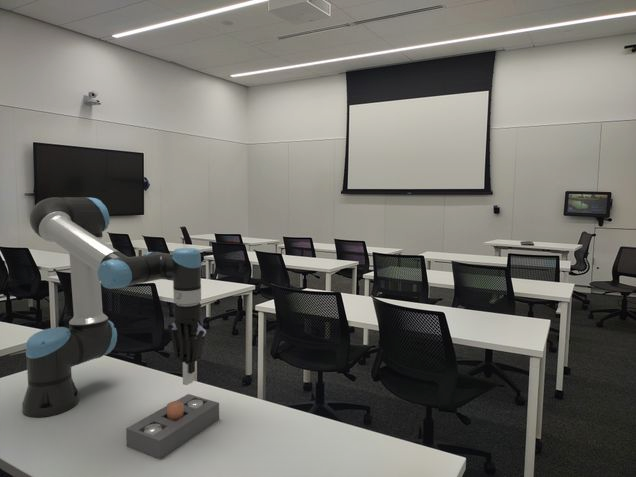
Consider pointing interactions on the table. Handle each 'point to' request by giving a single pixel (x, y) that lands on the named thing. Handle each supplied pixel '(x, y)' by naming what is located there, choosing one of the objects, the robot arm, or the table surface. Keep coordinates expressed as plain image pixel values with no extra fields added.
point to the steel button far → (195, 403)
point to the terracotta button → (175, 410)
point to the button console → (171, 428)
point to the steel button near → (152, 429)
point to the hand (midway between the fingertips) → (188, 382)
